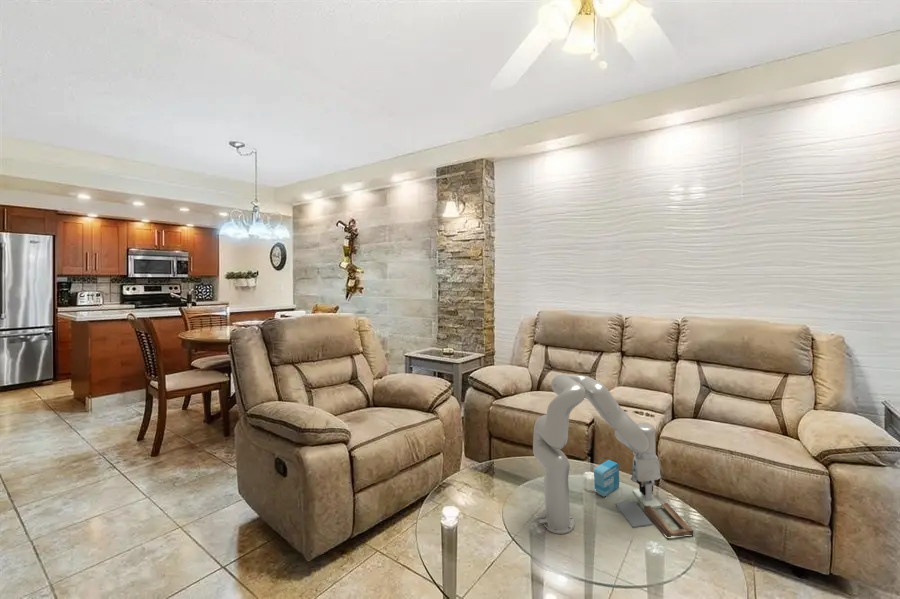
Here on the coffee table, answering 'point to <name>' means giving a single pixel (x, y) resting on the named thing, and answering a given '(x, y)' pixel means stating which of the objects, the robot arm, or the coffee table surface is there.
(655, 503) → the cover plate
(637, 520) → the felt pad
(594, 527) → the coffee table surface
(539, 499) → the coffee table surface
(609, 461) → the data package
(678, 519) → the brown u-shaped frame
